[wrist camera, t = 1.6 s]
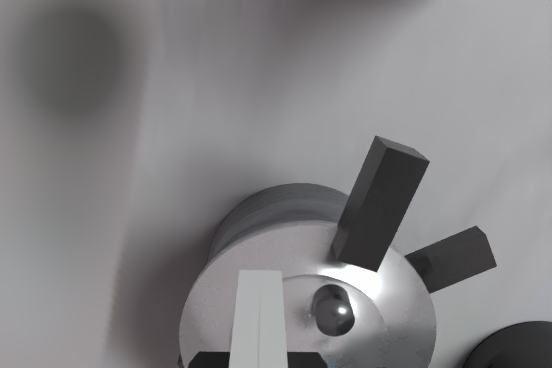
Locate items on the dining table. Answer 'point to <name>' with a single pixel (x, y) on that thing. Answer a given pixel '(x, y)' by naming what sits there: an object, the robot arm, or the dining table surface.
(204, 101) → the dining table surface
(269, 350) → the robot arm
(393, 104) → the dining table surface
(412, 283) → the lid
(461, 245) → the pot
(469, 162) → the dining table surface
